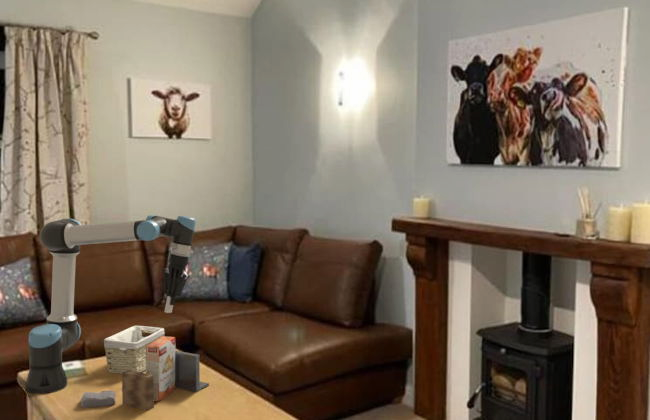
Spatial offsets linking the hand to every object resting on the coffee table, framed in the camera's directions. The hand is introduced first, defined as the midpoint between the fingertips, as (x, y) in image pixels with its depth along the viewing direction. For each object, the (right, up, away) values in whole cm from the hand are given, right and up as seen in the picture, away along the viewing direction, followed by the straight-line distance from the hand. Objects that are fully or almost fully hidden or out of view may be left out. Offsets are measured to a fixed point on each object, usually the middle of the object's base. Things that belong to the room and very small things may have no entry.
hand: (168, 312), depth 255 cm
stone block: (-20, -30, -20) cm, 42 cm away
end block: (-5, -30, -24) cm, 39 cm away
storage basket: (-19, -27, +20) cm, 38 cm away
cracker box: (+1, -30, -13) cm, 32 cm away
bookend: (+9, -29, -3) cm, 30 cm away
